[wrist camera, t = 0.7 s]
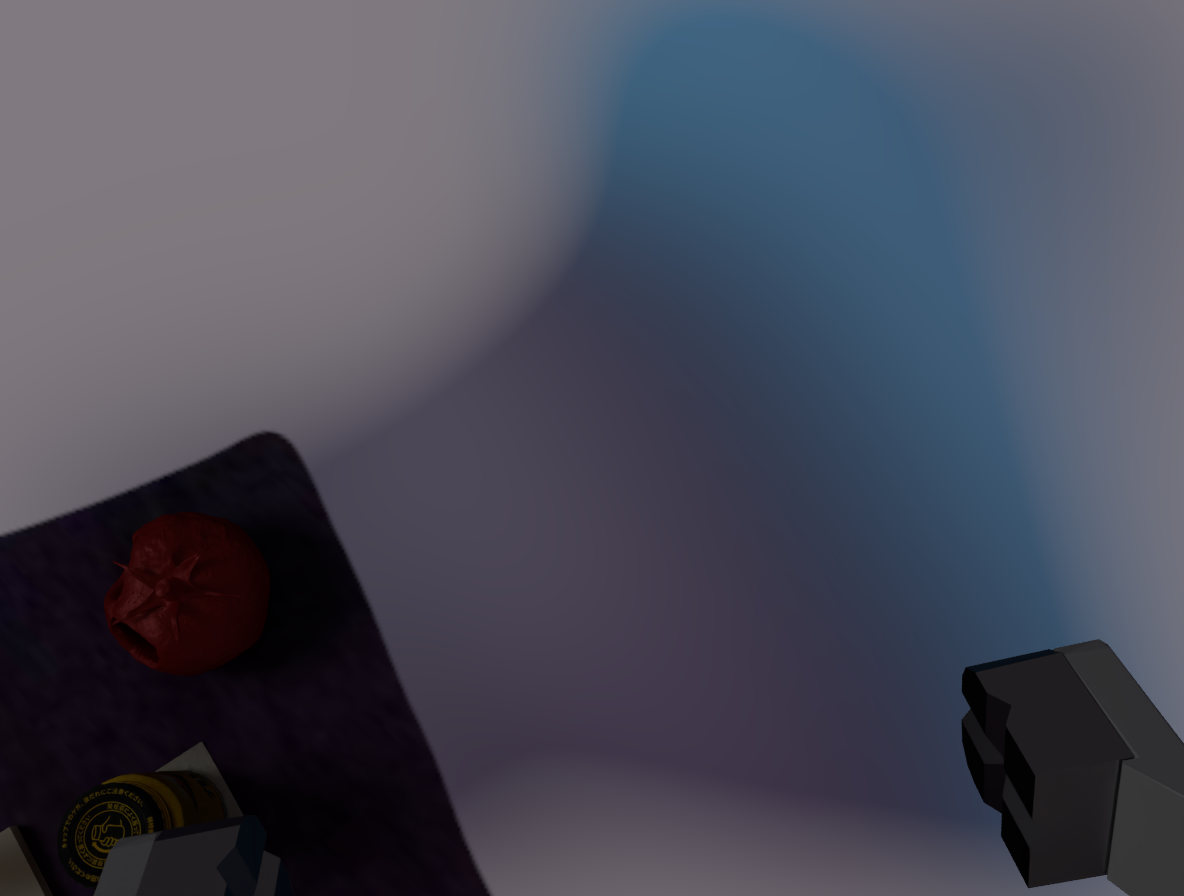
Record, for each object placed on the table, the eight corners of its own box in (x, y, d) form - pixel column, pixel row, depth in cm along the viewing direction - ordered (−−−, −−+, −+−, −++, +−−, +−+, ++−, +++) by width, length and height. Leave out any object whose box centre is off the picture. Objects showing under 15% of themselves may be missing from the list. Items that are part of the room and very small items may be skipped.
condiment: (202, 741, 67) (137, 741, 55) (269, 858, 65) (216, 884, 54) (96, 809, 65) (6, 823, 54) (162, 931, 64) (83, 973, 52)
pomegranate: (269, 514, 71) (238, 478, 62) (292, 661, 69) (262, 645, 60) (118, 544, 70) (63, 512, 61) (134, 695, 67) (80, 685, 58)
